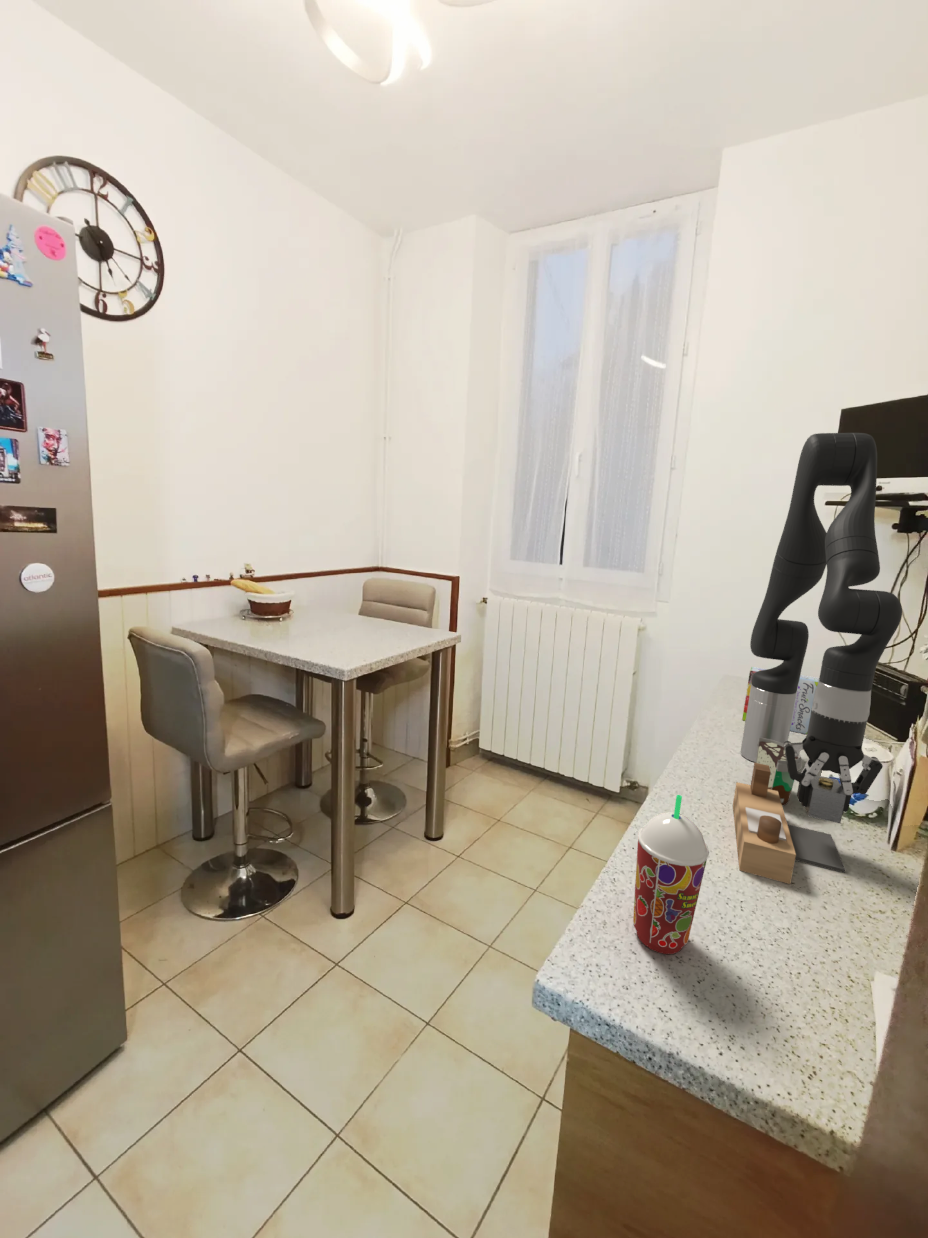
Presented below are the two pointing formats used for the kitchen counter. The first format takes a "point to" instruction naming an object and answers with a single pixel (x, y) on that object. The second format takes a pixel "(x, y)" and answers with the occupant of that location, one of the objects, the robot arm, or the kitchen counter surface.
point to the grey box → (825, 799)
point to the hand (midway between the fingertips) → (820, 807)
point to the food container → (777, 767)
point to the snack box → (802, 701)
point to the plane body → (762, 829)
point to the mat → (815, 848)
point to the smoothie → (668, 880)
